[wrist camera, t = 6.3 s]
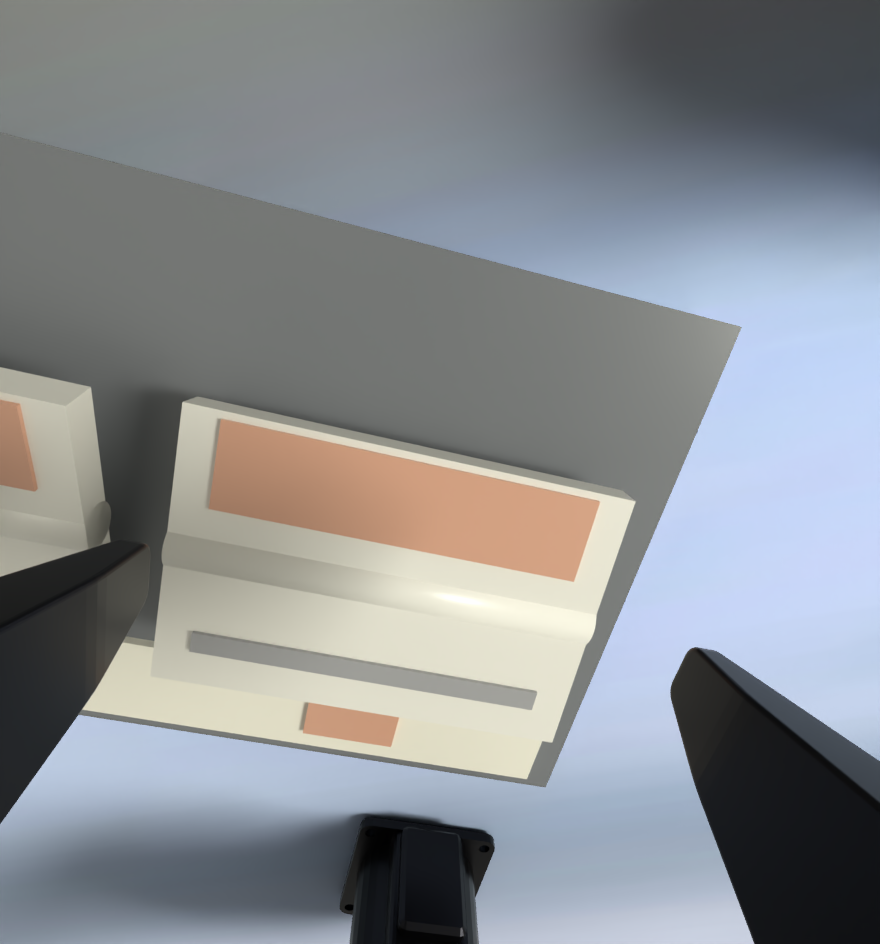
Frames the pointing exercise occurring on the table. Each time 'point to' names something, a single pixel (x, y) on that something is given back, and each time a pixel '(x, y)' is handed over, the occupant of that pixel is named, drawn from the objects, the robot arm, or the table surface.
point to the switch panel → (331, 392)
